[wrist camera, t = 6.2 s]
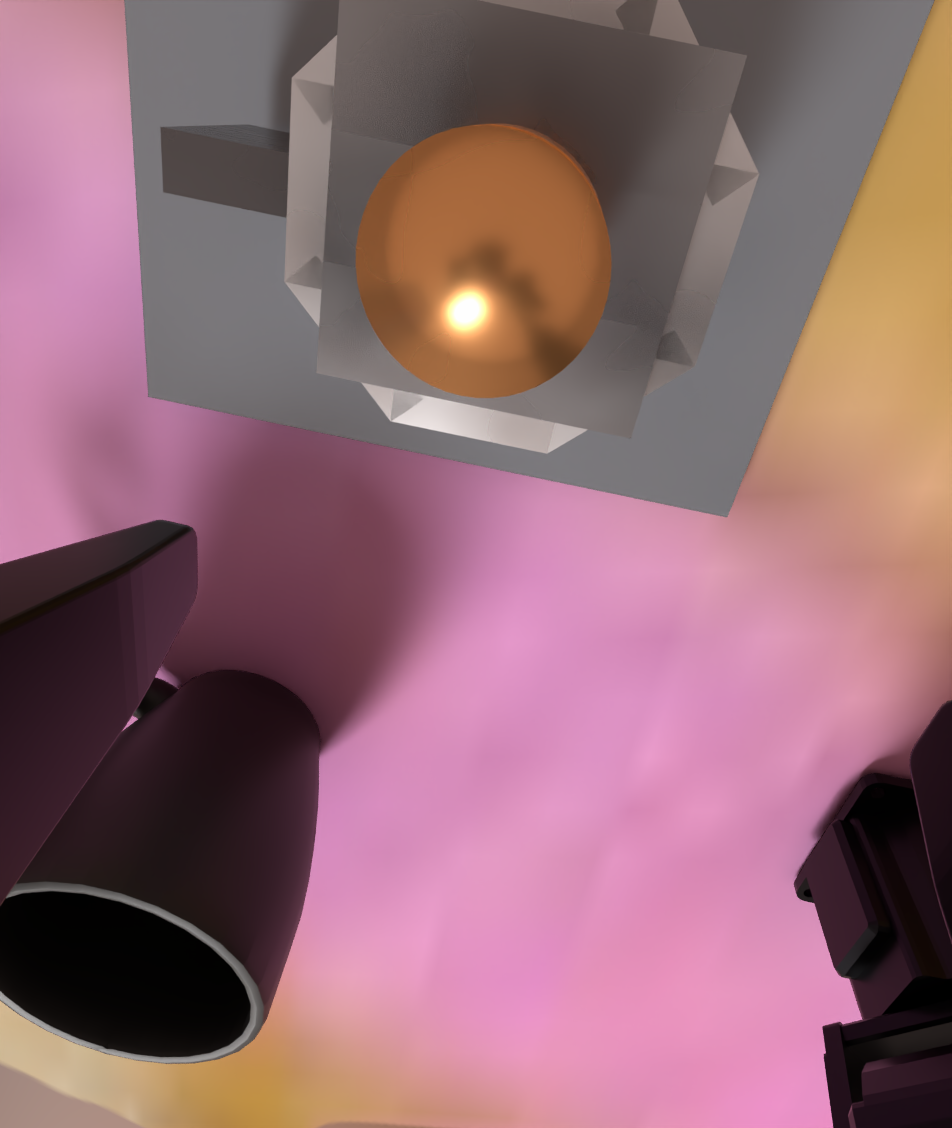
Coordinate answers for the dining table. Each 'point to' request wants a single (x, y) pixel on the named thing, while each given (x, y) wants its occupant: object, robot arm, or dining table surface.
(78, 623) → the robot arm
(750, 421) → the slate board
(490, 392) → the plunger
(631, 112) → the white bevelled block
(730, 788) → the dining table surface
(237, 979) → the mug
